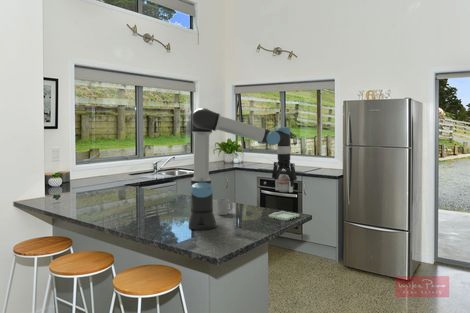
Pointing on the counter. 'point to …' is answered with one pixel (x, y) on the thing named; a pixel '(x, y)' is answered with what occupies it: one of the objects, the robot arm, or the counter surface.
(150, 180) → the counter surface
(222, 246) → the counter surface
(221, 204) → the cup
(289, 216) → the pale green scalloped tray
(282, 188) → the cupcake
